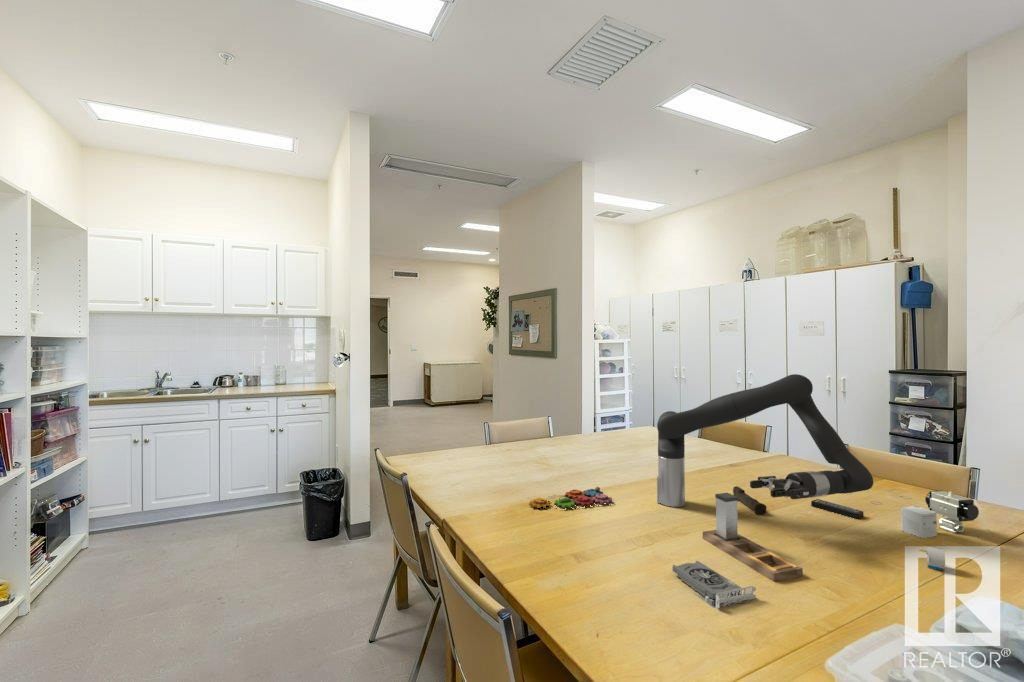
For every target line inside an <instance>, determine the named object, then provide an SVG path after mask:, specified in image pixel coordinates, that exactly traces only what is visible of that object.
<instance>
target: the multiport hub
mask: <svg viewBox="0 0 1024 682" xmlns="http://www.w3.org/2000/svg"><path fill="white" fill-rule="evenodd" d="M810 503H811V504H810V505H811V507H812V508H816V509H818V508H819V510H822V509H823V511H825V510H826V511H825V512H829V513H832V512H834V513H833V514H836V513H837V514H836V515H839V514H841V515H840V516H843V515H844V516H843V517H846V516H847V518H850V517H851V518H850V519H853V518H854V520H857V519H858V520H860V518H861V519H863V518H864V516H865V515H864V511H863V510H859V509H856V508H852V507H849V506H845V505H840V504H837V503H834V502H830V501H827V500H823V499H819V498H816V499H813V500H811V502H810ZM862 517H863V518H862Z"/></svg>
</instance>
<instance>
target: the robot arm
mask: <svg viewBox="0 0 1024 682" xmlns="http://www.w3.org/2000/svg"><path fill="white" fill-rule="evenodd" d="M813 386H814V385H813V383H812V381H811V380H810V379H809V378H808V377H806V376H804V375H802V374H796V373H795V374H789V375H787V376H784V377H782V378H780V379H778V380H776V381H772V382H770V383H768V384H765V385H761V386H757V387H753V388H748V389H743V390H739V391H736V392H732V393H727V394H725V395H724V394H723V395H721V396H718V397H715V398H713V399H710V400H709V401H707V402H704V403H702V404H700V405H699V406H697V407H694V408H692V409H689V410H685V411H680V412H676V411H673V410H667V411H666V412H663V413H662V414H661V415H660V416H659V418H658V420H657V423H656V428H657V433H658V434H657V435H658V436H657V441H658V442H657V464H658V465H657V472H658V473H657V477H656V503H657V504H660V503H661V504H660V505H662V504H663V505H662V506H666V507H670V506H671V507H670V508H672V507H673V508H679V507H683V506H685V505H686V476H685V475H686V474H685V473H686V472H685V470H686V468H685V464H686V463H685V445H686V444H685V436H686V435H687V434H690V433H692V432H695V431H698V430H702V429H705V428H710V427H715V426H720V425H724V424H728V423H732V422H736V421H739V420H742V419H746V418H747V417H750V416H753V415H755V414H758V413H760V412H762V411H764V410H766V409H770V408H772V407H776V406H780V405H781V406H782V405H785V404H787V405H789V406H790V408H791V409H792V410H793V411H794V412H795V414H796V416H798V418H799V419H800V420H801V422H802V423H803V425H804V427H805V428H806V430H807V432H808V434H810V436H811V438H812V440H813V441H814V443H815V445H816V447H817V448H818V450H819V452H820V453H821V455H822V456H823V458H824V459H825V461H826V462H827V463H828V464H831V465H838V466H839V467H841V468H842V469H840V470H839V469H838V470H836V471H835V470H817V471H815V470H808V471H797V472H796V471H795V472H790V473H788V474H787V476H786V477H785V478H784V477H779V478H777V476H776V475H766V476H758V477H757V479H754V480H750V481H749V487H750V488H751V489H769V490H770V497H771V498H783V497H784V498H786V499H787V498H790V499H791V500H801V499H809V498H818V497H821V496H828V495H829V496H830V495H836V494H842V495H843V494H852V493H857V492H864V491H868V490H870V489H872V487H874V478H873V475H872V473H871V471H870V470H869V469H868V468H867V467H866V466H865V465H864V463H862V462H861V461H860V460H859V459H858V458H857V457H856V456H855V455H854V454H853V453H851V452H850V451H849V449H848V448H847V446H846V444H845V443H844V441H843V440H842V438H841V437H840V435H839V434H838V432H837V430H835V429H834V427H833V426H832V425H831V424H830V423H829V421H828V420H827V419H826V418H825V417H824V415H823V413H821V412H820V410H819V408H818V407H817V406H816V404H815V401H814V399H813V397H812V394H813V390H814V389H813V388H814V387H813Z"/></svg>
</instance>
